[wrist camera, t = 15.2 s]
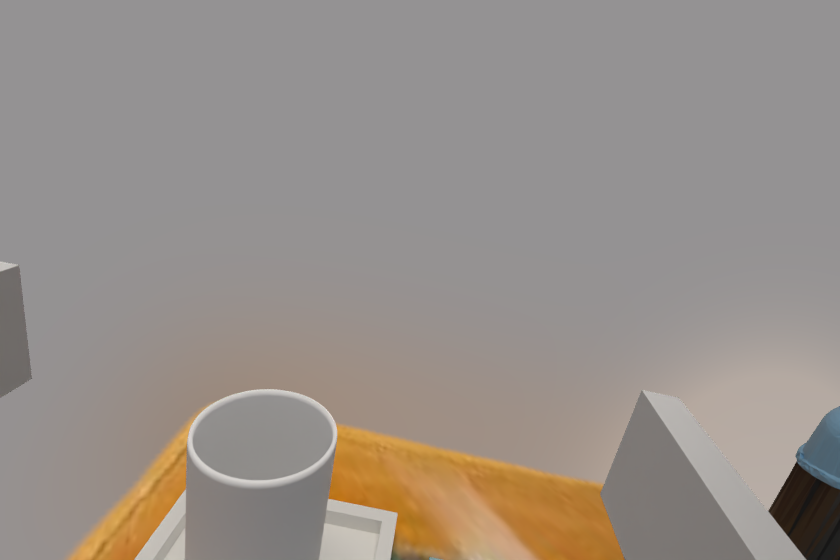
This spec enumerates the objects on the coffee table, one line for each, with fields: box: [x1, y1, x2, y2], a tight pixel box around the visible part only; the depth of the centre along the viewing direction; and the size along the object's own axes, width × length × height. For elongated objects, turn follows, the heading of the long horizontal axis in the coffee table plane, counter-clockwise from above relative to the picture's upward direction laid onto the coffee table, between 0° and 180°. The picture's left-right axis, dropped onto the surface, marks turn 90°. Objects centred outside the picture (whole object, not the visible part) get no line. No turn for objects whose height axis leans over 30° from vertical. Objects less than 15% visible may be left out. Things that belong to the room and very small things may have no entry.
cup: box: [185, 389, 337, 560], centre depth 30 cm, size 8×8×16 cm
